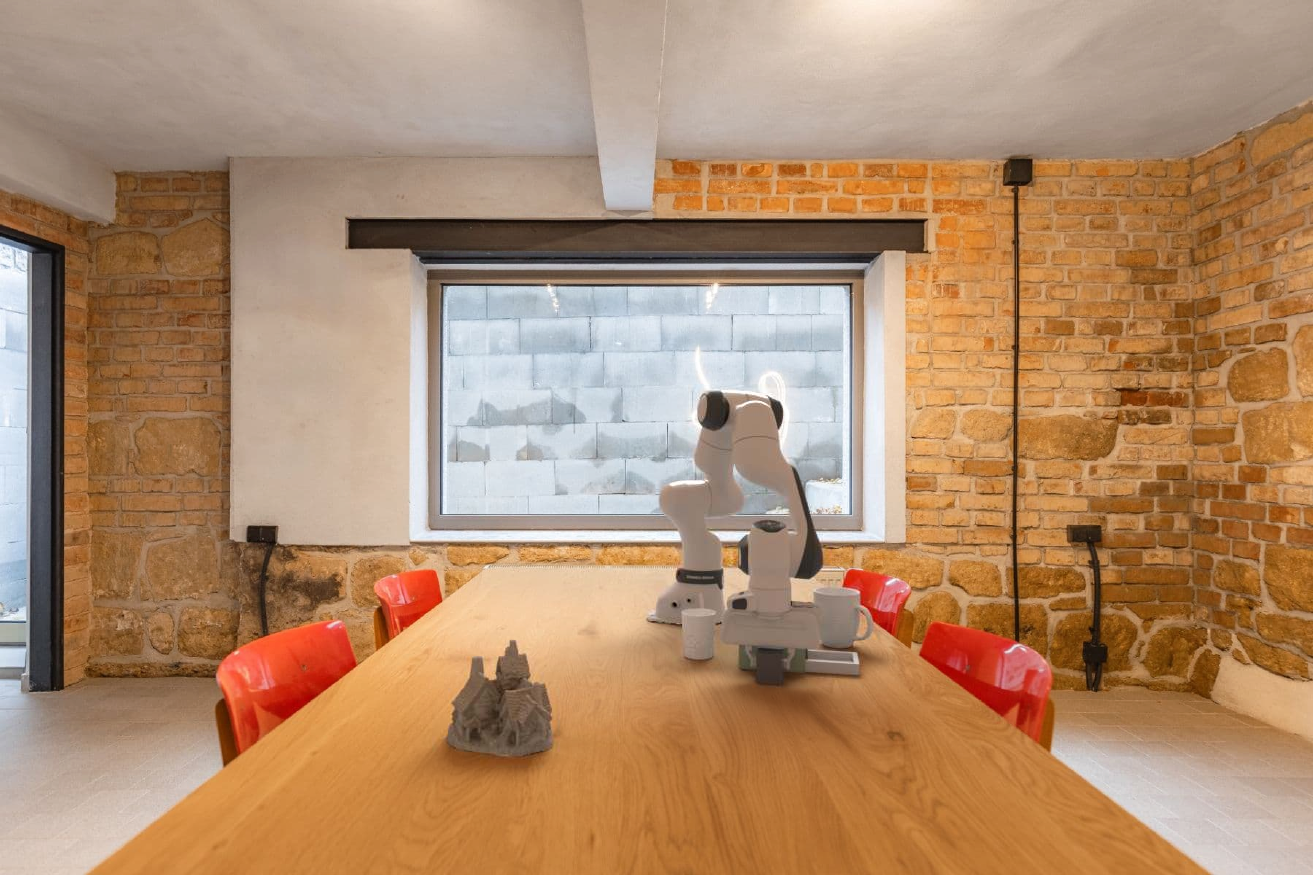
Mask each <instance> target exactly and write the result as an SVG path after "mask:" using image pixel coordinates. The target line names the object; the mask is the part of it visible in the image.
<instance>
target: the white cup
mask: <svg viewBox="0 0 1313 875" xmlns="http://www.w3.org/2000/svg"><path fill="white" fill-rule="evenodd" d="M681 613H682V625H681V627H682V628H681V631H682V633H681V634H682V644H683V656H684V658H687V659H688V660H698V661H699V660H700V661H703V660H705V661H706V660H709V659H712V658H713V657H714V655H715V652H714V651H715V641H716V640H715V636H716V623H715V622H716V612H715V611H713V610H710V609H700V608H695V609H686V610H683V611H682V612H681Z"/></svg>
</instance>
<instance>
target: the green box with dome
mask: <svg viewBox="0 0 1313 875" xmlns="http://www.w3.org/2000/svg"><path fill="white" fill-rule="evenodd" d="M757 649H758V646H753V648H752V653H753V655H754V657H756V652H757ZM789 654H790V653H788V648H783V659H787V657H788V655H789ZM738 669H740V670H741V669H742V670H754V671H756V667H751V659H750V658H749V656H748V655H747V653H746V651H745V645H738ZM784 672H785V673H786V672H787V673H797V674H798V673H800V674H806V673H819V674H820V673H821V674H834V675H836V674H837V675H848V676H849V675H850V676H860V660H859V656H858V652H856V651H842V650H840V651H837V650H825V649H824V650H823V649H822V650H821V649H798V648H795V654H794V656H793V657H792V659H791V661H790V670H785V669H783V673H784Z"/></svg>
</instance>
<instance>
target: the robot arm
mask: <svg viewBox="0 0 1313 875" xmlns="http://www.w3.org/2000/svg"><path fill="white" fill-rule="evenodd" d="M696 408H697V409H696V411H697V413H696V414H697V415H696V416H697V421H698V423H699V424H700V426H701V430H700V433H699V437H698V441H697V444H696V448H695V452H694V455H693V460H694V464H695V466H696V467H697V469H698V470H699V471H700V472H702V473H703V474H704V475H705V476H704V478H703V479H693V480H692V479H691V480H690V479H689V480H685V479H683V480H678V481H677V480H676V481H674V482H670V483H666V484H664V486H663V487H662V488H661V490H660V492H659V495H658V506H659V508H660V511H661V512H662V514H663V515H664V517H666V518H667V519H669V520H670V521H671V522H672V523H673V524H674V526H675V527H676V529H677V531H678V533H679V536H680V540H681V547H682V548H681V549H682V566H679V567H677V569H676V571H675V582H673V583H672V584H671V585H670V586H668V587H667V588H666V589H664V590H663V591H662V592H661V593H660V594H659V595H658V597H657V599H656V604H655V609H652V610H650V611H649V612H648V615H647V620H648V621H649V622H652V621H658V622H657V623H662V622H665V623H664V624H671V623H679V624H678V625H681V624H682V613H681V612H682V611H683V610H686V609H695V608H700V609H710V610H713V611H715V612H716V622H715V624H720V622H721V626H720V627H721V628H720V640H721V642H722V644H724V645H737V646H739V645H745V651H746V653H747V655H748V656H749V658H750V659H751V667H756V657H754V655H753V653H752V648H753V646H765V647H781V648H788V653H790V654H789V655H788V657H787V659H783V660H782V669H785V670H790V661H791V659H792V657H793V656H794V654H795V648H798V649H810V650H818V648H819V647H820V646H821V640H820V633H819V626H818V624H819V623H820V622H821V619H822V612H821V609H820V607H819V606H817V605H815V604H814V601H813V602H812V601H799V600H798V601H797V600H796V601H795V600H792V582H791V578H793V579H799V580H811V579H812V578H814V577H815V576H816V575H817V574H818V573H819V572H820V571H821V570H822V569H823V567H824V552H823V548H822V545H821V542H820V539H819V536H818V534H817V531H816V528H815V525H814V521H813V518H812V515H811V510H810V508H809V503H808V500H807V497H806V492H805V490H804V486H803V483H802V480H801V477H800V475H799V472H798V470H797V469H796V467H795V466H794V465H792V464H790V463H789V462H788V461H787V459H786V458H785V456H784V454H783V453H782V450H781V443H780V436H779V435H780V434H779V430H780V428H781V427H782V424H783V420H784V407H783V405H782V402H781V401H780V399H779V398H776V397H774V396H772V395H768V394H765V395H763V394H761V393H758V392H753V391H747V390H742V391H741V390H728V389H727V390H726V389H725V390H723V389H722V390H721V389H720V388H713V389H708V390H706V391H704V392H703V393H702V394H701V396H700V398H699V401H698V403H697V407H696ZM734 466H735V469H736V471H737V472H738V474H739V475H740V476H741V477H742V478H744V480H747V481H748V482H750V483H751V484H752V485H753V484H754V485H756V486H759V487H762V488H765V489H768V490H770V491H772V492H774V493H777V494H778V495H779V496H780V497H782V498H783V500H785V504H787V509H788V513H789V516H790V520H791V525H792V528H793V532H789V528H788V526H787V525H786V523H783V522H781V521H778V520H773V519H763V520H762V519H761V520H757V521H754V522H753V523H752V524H751V526H750V531H749V534H745V535H744V536H743V537H742V538H741V539H740V540H739V541H738V542H737V548H738V549H737V550H738V551H737V552H738V555H737V556H738V557H737V568H738V569H739V570H740V571H741V572H742V573H744V574H745V575H747V576H749V580H748V583H747V586H748V587H747V588H748V589H746V590H743V591H740V592H735V593H732V594H731V595H730V596H728V598H727V599H726V604H725V598H724V589H725V588H724V587H725V573H724V568H723V544H722V541H721V540H720V538H719V537H718V536H717V535H716V534H715V533H713V532H711V531H709V530H708V528H707V526H706V523H705V520H708V519H709V520H710V519H725V518H729V517H732V516H736V515H739V514H740V513H741V511H742V510H743V508H744V505H745V500H746V498H745V492H744V490H743V488H742V487H741V485H740V484H738V482H737V481H736V479H735V476H734ZM814 606H815V607H817V608H814ZM726 608H727V609H726Z"/></svg>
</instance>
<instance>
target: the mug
mask: <svg viewBox="0 0 1313 875" xmlns="http://www.w3.org/2000/svg"><path fill="white" fill-rule="evenodd" d="M813 603H814V604H815V605H817V606H819V607H820V609H821V612H822V619H821V622H820V623H819V624H818V626H819V633H820V643H822V644H823V645H824V646H825V647H827V646H828V648H833V649H847V648H850V647H852V646H853V644H854V642H855V641H856V642H857V641H859V642H860V641H861V642H862V641H864V640H867V639H869V638H870V637H871V635H872V633H873V630H874V621H873V617H872V614H871V612H870V611H869V609H868V608H867V607H865V606H864V605H861V591H859V590H858V589H853V588H848V587H843V586H842V587H841V586H822V587H817V588H814V589H813ZM813 608H817V607H815V606H814V607H813ZM861 612H862V613H863V615H864V616H865V618H866V621H867V622H866V623H867V629H866V632H865V634H863V635H861V636H858V632H859V629H860V628H859V627H860V623H861Z"/></svg>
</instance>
